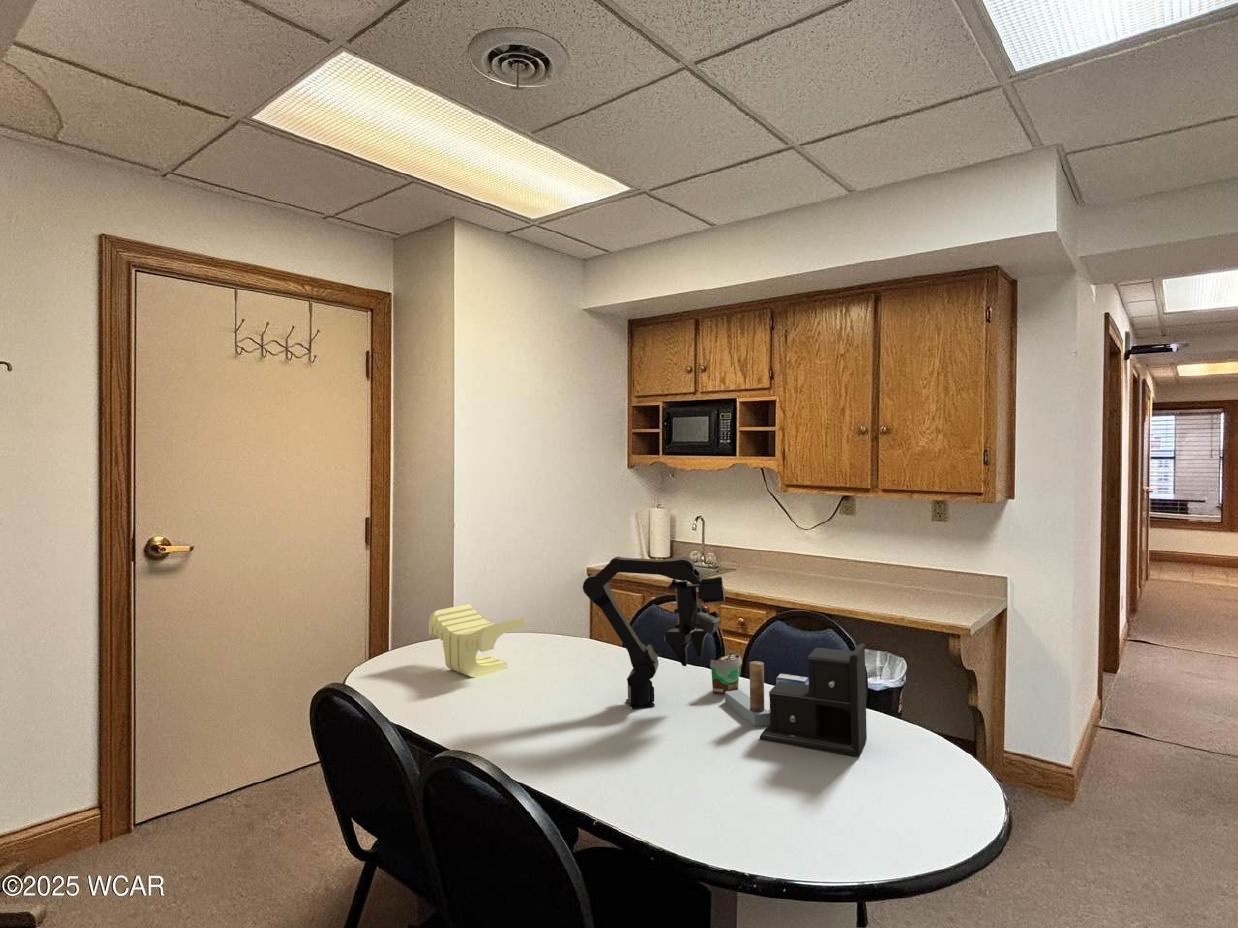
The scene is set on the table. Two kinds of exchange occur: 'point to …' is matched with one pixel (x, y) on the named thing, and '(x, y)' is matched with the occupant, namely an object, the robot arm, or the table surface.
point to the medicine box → (792, 679)
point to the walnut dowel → (756, 686)
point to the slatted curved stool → (469, 639)
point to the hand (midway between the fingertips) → (692, 661)
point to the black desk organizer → (823, 704)
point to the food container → (725, 673)
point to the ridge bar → (746, 708)
